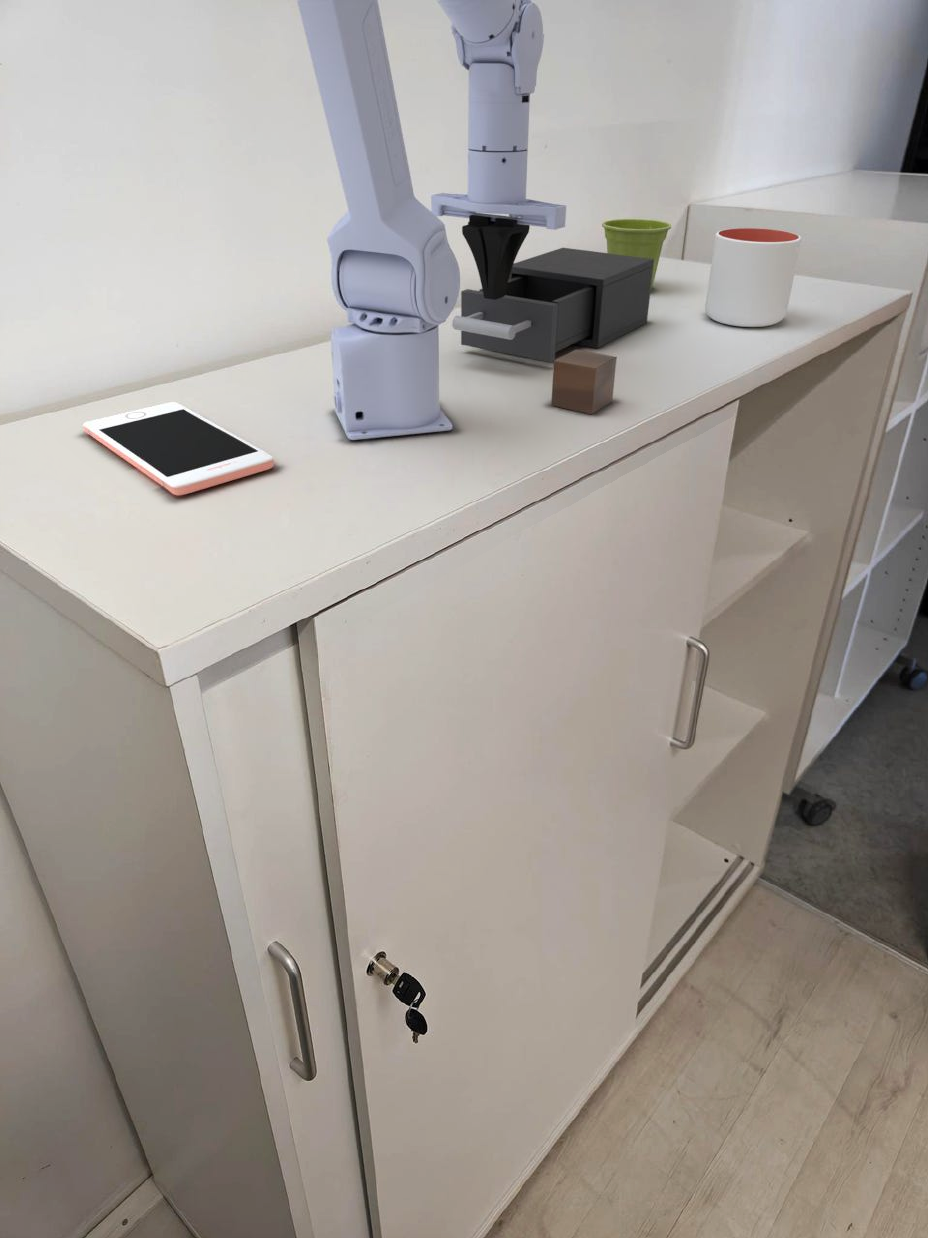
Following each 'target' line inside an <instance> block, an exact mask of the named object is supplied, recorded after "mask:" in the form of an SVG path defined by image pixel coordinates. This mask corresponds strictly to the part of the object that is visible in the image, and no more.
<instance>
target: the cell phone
mask: <svg viewBox="0 0 928 1238" xmlns="http://www.w3.org/2000/svg"><path fill="white" fill-rule="evenodd" d="M83 429H84V432H85V434H88V435H89V436H91V437H92V438H93V439H95V440H96V441H98V442H99V443H101V444H102V445H103V446H105V447H107V449H109V450H110V451H112V452H113V453H115V454H116V455H117V456H119V457H120V458H122V459H123V460H124V461H126V462H128V463H129V464H130V465H132V466H133V467H135V468H136V469H137V470H139V471H140V472H142V473H143V474H144V475H146V476H147V477H149V478H150V479H151V480H153V481H154V482H156V483H157V484H159V485H160V486H162V487H163V488H164V489H166V490H167V491H168V492H169V493H171V494H172V495H175V496H184V495H187V494H192V493H194V492H197V491H201V490H204V489H208V488H211V487H214V486H218V485H221V484H225V483H227V482H231V481H234V480H237V479H241V478H245V477H248V476H251V475H254V474H257V473H261V472H264V471H268V470H270V469H272V468H274V466H275V461H274V457H273V455H271V454H269V453H268V452H267V451H264V450H263V449H261V448H259V447H258V446H255V444H252V443H250V442H249V441H247V440H245V439H243V438H241V437H240V436H238V435H236V434H234V433H232V432H231V431H229V430H227V429H226V428H223V427H222V426H220V425H218V424H216V423H214V422H213V421H211V420H210V419H208V418H205V417H204V416H202V415H201V414H198V413H197V412H195V411H193V410H191V409H190V408H188V407H186V406H184V405H182V404H181V403H178V402H176V401H171V402H166V403H165V402H164V403H161V404H157V405H153V406H147V407H143V408H139V409H136V410H135V409H134V410H131V411H127V412H123V413H118V414H114V415H109V416H106V417H102V418H97V419H93V420H88V421H86V422H84V423H83Z"/></svg>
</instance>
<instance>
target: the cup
mask: <svg viewBox="0 0 928 1238" xmlns="http://www.w3.org/2000/svg"><path fill="white" fill-rule="evenodd" d="M801 242H802V237H801V236H800V235H799V234H797V233H793V232H791V231H786V230H779V229H772V228H771V229H770V228H759V227H758V228H757V227H737V228H736V227H735V228H726V229H720V230H718V231H717V232H716V233H715V236H714V244H713V251H712V257H711V263H710V265H711V266H710V271H709V277H708V284H707V291H706V296H705V297H706V299H705V306H704V310H705V312H706V314H707V316H708V317H709V318H710V319H712V320H713V321H715V322H717V323H720V324H724V325H728V326H734V327H743V328H764V327H770V326H773V325H777V324H778V323H779V322H781V321H782V320H783V319H784V318H785V317H786V315H787V313H788V308H789V303H790V298H791V292H792V287H793V283H794V278H795V273H796V268H797V263H798V258H799V252H800V248H801Z"/></svg>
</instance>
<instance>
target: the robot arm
mask: <svg viewBox="0 0 928 1238" xmlns="http://www.w3.org/2000/svg"><path fill="white" fill-rule="evenodd" d="M296 1H297V5H298V9H299V14H300V18H301V22H302V25H303V31H304V34H305V38H306V42H307V47H308V51H309V55H310V59H311V63H312V66H313V70H314V74H315V79H316V83H317V87H318V88H317V89H318V91H319V95H320V101H321V104H322V107H323V111H324V116H325V120H326V124H327V128H328V132H329V136H330V139H331V140H330V141H331V144H332V145H331V146H332V149H333V152H334V156H335V161H336V165H337V169H338V173H339V178H340V181H341V185H342V190H343V194H344V197H345V202H346V205H347V211H346V213H344V214H343V215H342V216H340V217H341V218H339V219H338V220H337V221H336V223H335V224H334V225H333V227H332V228H331V231H330V232H329V235H328V237H327V239H326V240H327V245H328V248H329V253H330V260H331V265H330V266H331V267H330V281H331V287H332V291H333V294H334V298H335V300H336V302H337V304H338V305H339V306H340V307H341V308H342V309H343V310H344V311H346V312H347V313H346V314H347V322H348V323H351V324H348V325H344V326H343V325H342V326H336V327H332V328H331V332H330V334H331V335H330V337H331V338H330V346H331V347H330V349H331V361H332V376H333V389H334V390H333V391H334V394H333V400H334V401H333V403H334V412H335V415H336V416H337V418H338V420H339V423H340V425H341V426H342V429H343V432H344V433H345V435H346V438H347V439H348V440H350V441H357V440H365V439H366V440H368V439H376V438H377V439H378V438H386V437H397V436H407V435H408V436H409V435H415V434H416V435H417V434H427V433H436V432H446V431H447V432H448V431H451V430H453V423H452V422H451V421H450V419H449V418H448V416H447V414H445V413H444V411H443V410H442V408H440V345H439V344H440V343H439V341H440V340H439V339H440V338H439V331H440V330H439V325H441V324H444V323H446V321H447V319H448V318H449V316H450V315H451V314H452V313H453V310H454V309H455V307H456V304H457V303H458V298H459V296H460V295H459V294H460V289H461V272H460V267H459V262H458V260H457V258H456V255H455V253H454V251H453V250H452V248H451V245H450V243H449V240H448V235H447V230H446V225H445V223H444V222H443V221H442V220H441V219H440V218H439V217H443V216H446V217H453V218H462V219H468V222H467V224H464V225H462V226H461V232H462V233H461V234H462V236H463V238H464V239H465V241H466V243H467V245H468V247H469V250H470V251H471V254H472V256H473V259H474V263H475V265H476V268H477V273H478V276H479V280H480V284H481V289H482V290H483V295H484V298H486V299H492V300H496V299H499V298H502V297H504V296H505V292H506V288H507V284H508V280H509V276H510V273H511V270H512V267H513V264H514V263H515V261H516V258H517V256H518V254H519V251H520V249H521V247H522V245H523V244H524V242H525V239H526V238H527V236H528V235H529V232H530V227H541V228H546V229H547V230H555V231H556V230H559V229H562V228H565V227H566V218H567V217H566V216H567V205H566V204H557V203H551V202H546V201H540V200H535V199H530V198H527V178H528V175H527V174H528V157H529V156H528V155H529V154H528V153H529V130H530V127H529V126H530V102H531V94H534V93H535V91H536V87H537V75H538V68H539V64H540V61H541V58H542V54H543V49H544V40H545V33H544V24H543V23H544V22H543V17H542V12H541V10H540V8H539V6H538V5H537V3H535V2H532V0H436V1H437V3H438V5H439V6H440V7H441V9H442V10H443V12H444V13H445V15H446V16H447V18H448V19H449V21H450V22H451V26H450V29H451V31H452V32H451V34H452V36H453V37H454V40H455V48H456V53H457V57H458V61H459V64H460V66H461V67H464V69H465V70H466V71H468V90H467V91H468V96H467V97H468V98H467V100H468V102H467V103H468V105H467V106H468V107H467V108H468V110H467V111H468V114H467V117H468V118H467V194H466V193H446V192H441V193H434V194H431V195H430V204H431V205H430V207H431V208H430V209H429V208H427V206H425V205H424V204H423V203H421V201H420V200H419V199H417V198H416V196H415V193H414V188H413V183H412V177H411V171H410V166H409V161H408V156H407V155H408V154H407V150H406V145H405V140H404V134H403V129H402V123H401V119H400V114H399V113H400V112H399V108H398V102H397V98H396V97H397V96H396V91H395V87H394V82H393V81H394V80H393V76H392V71H391V65H390V60H389V54H388V49H387V44H386V43H387V42H386V38H385V32H384V27H383V23H382V22H383V21H382V17H381V12H380V5H379V1H378V0H296Z"/></svg>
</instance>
